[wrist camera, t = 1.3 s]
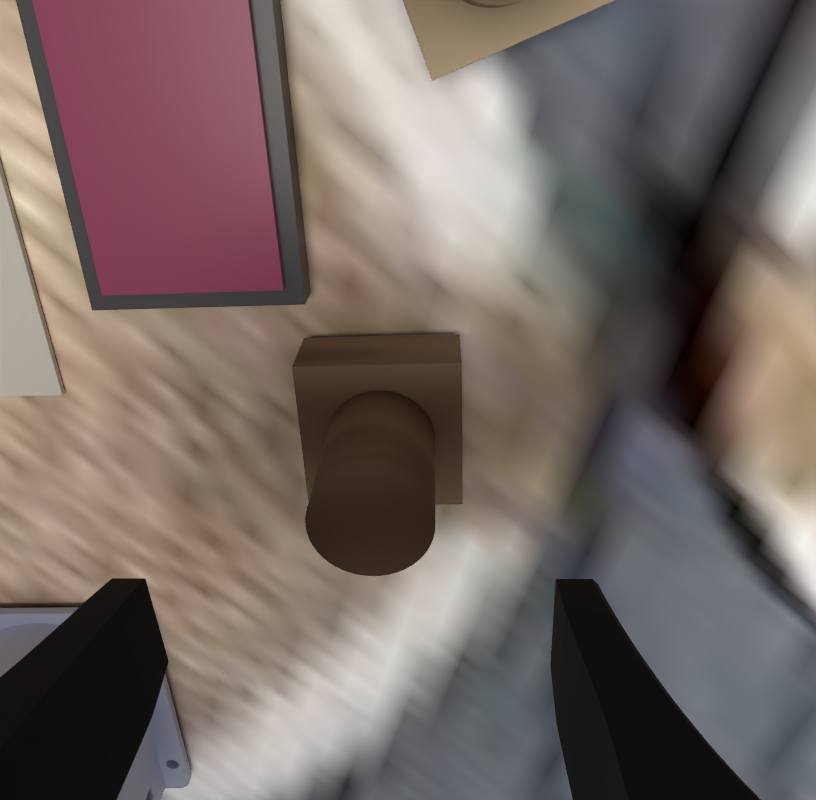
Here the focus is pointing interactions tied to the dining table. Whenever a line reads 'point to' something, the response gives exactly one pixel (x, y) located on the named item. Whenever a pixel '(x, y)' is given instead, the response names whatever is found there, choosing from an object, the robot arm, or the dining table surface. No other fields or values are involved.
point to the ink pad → (173, 148)
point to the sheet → (21, 316)
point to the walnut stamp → (378, 444)
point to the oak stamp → (483, 26)
